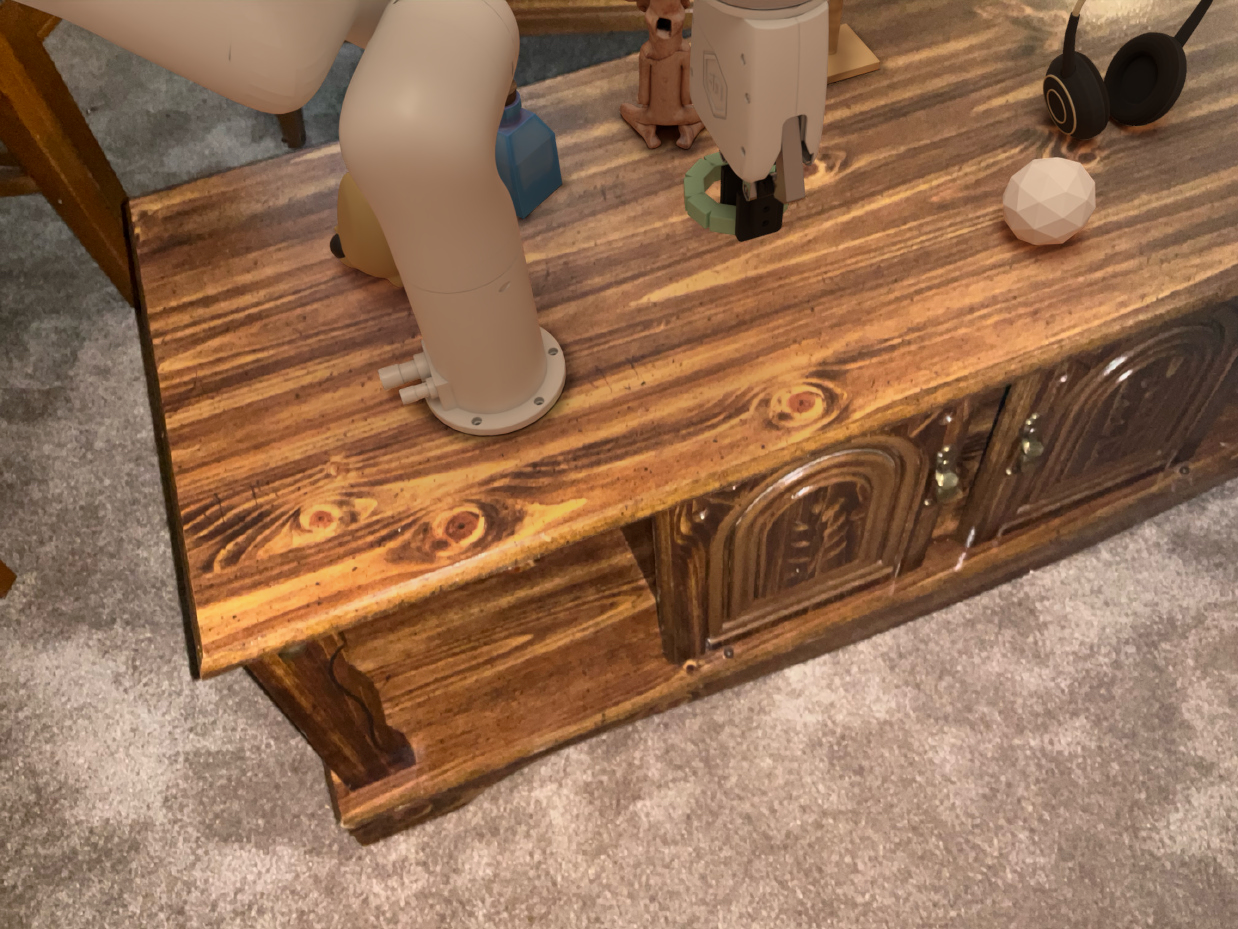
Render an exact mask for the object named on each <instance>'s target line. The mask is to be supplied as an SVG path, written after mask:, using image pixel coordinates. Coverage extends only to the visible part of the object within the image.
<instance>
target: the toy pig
mask: <svg viewBox="0 0 1238 929" xmlns="http://www.w3.org/2000/svg"><path fill="white" fill-rule="evenodd" d="M338 186H339V187H338V192H337V193H338V194H337V204H336V217H337V218H336V219H337V225H335V226H334V227H333V231H335V233H334V235H333V236H332V237H331V238H330V241H329V250H330V252H331V254H332V255H333V256H334V257H335V258H336V259H338V260H339V261H340V262H341V263H342V264H343V265H344V266H347V267H349V268H352V269H357V270H359V271H360V272H363V273H364V274H367V275H369V276H372V277H375V278H379V279H380V278H381V279H387V280H389V282H390V283H391V284H392V285H393V286H394V287H397V288H403V287H404V285H403V282H402V280H401V277H400V274H399V271H398V269H397V267H396V264H395V262H394V259H393V256H392V253H391V251H390V248H389V245H388V243H387V240H386V238H385V235H384V233H383V230H382V228H381V226H380V224H379V221H378V220H377V218H376V216H375V214H374V212H373V210H372V208H371V207H370V205H369V203H368V201H367V200H366V198H365V197H364V195H363V194H362V192H361V191H360V189H359V188H358V186H357V185H356V183H355V181H354V180H353V178H352V177H351V175H350V173H349V171H347V172H346V173H345V174H344V175H343V176H342V178H341V179H340V182H339V185H338Z"/></svg>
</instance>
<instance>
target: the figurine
mask: <svg viewBox="0 0 1238 929" xmlns="http://www.w3.org/2000/svg"><path fill="white" fill-rule="evenodd" d="M624 1H625V2H627V3H635V4H636V7H637V9H638V10H639V11H641V12H642V13H645V14H644V22H645V24H646V26H647V29H648V37H649V38H648V39H647V40H646V41H645V42H644V43H643V44H641V47H640V49H639V54H638V92H637V94H636V96H635V102H636V104H637V105H642V106H641V107H637V105H634V104H632V103H630V102H623V103H620V106H619V112H620V115H621V116H622V118H623V119H624V120H625V121H626V122H627V123H628V124H629V125H630V126H631V127H632V128H633V129H634V130H635V131H636V132H637V133H638V134H639V135H640V136H641V137H642V138H643V139H644V141H645V143H646V145H647V147H648V148H649V149H656V148H658V147H660V145H661V144H662V143H661V142H662V141H661V140H660V138H659V137H658V135H657V133H656V131H657V126H678V132H679V134H680V136H679V137H678V139H677V140H676V143H675V144H676V146H677V147H680V148H682V149H684V150H686V149H690V148H691V146H692V144H693V142H694V139H695V138H696V137H697V135H698V134H699V133H700V132H701V130H702V129H704V128H706V127H705V125H704V124H703V122H702V121H701V119H700V117H699V115H698V114H697V112H696V110H695V108H694V106H693V103H692V100H691V97H690V53H691V44H690V42H689V41H688V40H686V39H684V38H683V37H684V36H683V28H684V23H685V21H686V10H687V9H688V8H689V7H691V0H624Z"/></svg>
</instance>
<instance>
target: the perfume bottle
mask: <svg viewBox="0 0 1238 929" xmlns="http://www.w3.org/2000/svg"><path fill="white" fill-rule="evenodd" d="M517 86H518V85H517V82H516V80H515V79H513V80H512V83H511V87H510V90H509V93H508V96H507V99H506V103H505V107H504V112H503V115H502V118H501V121H500V125H499V128H498V132H497V137H496V146H495V161H496V167H497V171H498V174H499V176H500V178H501V180H502V182H503V183H504V184H505V186H506V188H507V189H508V192H509V194H510V196H511V199H512V202H513V205H514V209H515V212H516V216H517V218H520V219H523V220H524V219H526V217H527V216H529V215H530V214H531V213H532V212H533V211H534V210H535V209H536V208H538V206H540V205H541V204H542V203H543V202H544V201H545V200H547V199H548V198H549V197H550V196H551V195H552V194H553V193H554V192H556V191H557V190H558V189H559V188H560V187H561V186H562V185H563V179H562V171H561V166H560V159H559V151H558V144H557V138H556V133H555V131H554V130H553V129H552V128H551V127H549V126H548V125H547V124H546V123H545V122H544V121H543V120H542V119H541V117H539V116H538V115H537V114H536V112H533V111H531V110H528V109H526V108H524V107H523V104H522V99H521V94H520V92H519V91H518V90H517Z"/></svg>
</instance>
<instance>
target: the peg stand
mask: <svg viewBox="0 0 1238 929" xmlns="http://www.w3.org/2000/svg"><path fill="white" fill-rule="evenodd" d="M843 6H844V0H829V3H828V18H829V41H828V73H827V85H829V84H832V83H835V82H839V81H843V80H847V79H850V78H853V77H857V76H860V75H864V74H867V73H870V72H873V71H877V70H879V69H880V66H881V65H880V64H881V60H880V59H879V58H878V57H877V56H876V54H874V52H873V51H872V50H871V49H870V48H869V47H868V46H867V44H866V43H864V41H863V40H862V39H861V38H860V37H859V35H857V33H856V32H855V31H854V30H853V29H852V28H851V27H850V26H849V25H848V23H842V24H841V21H842V14H843Z"/></svg>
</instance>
